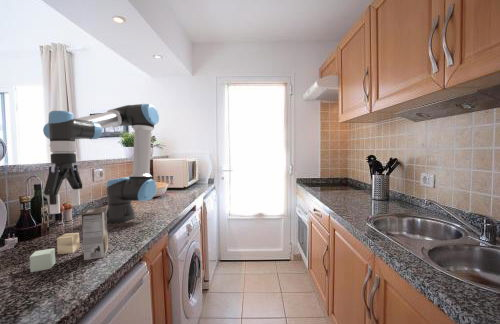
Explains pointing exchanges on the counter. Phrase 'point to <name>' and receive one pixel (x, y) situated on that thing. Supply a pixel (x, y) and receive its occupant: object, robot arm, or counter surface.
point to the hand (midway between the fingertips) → (66, 209)
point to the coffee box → (94, 233)
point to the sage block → (42, 260)
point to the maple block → (68, 243)
